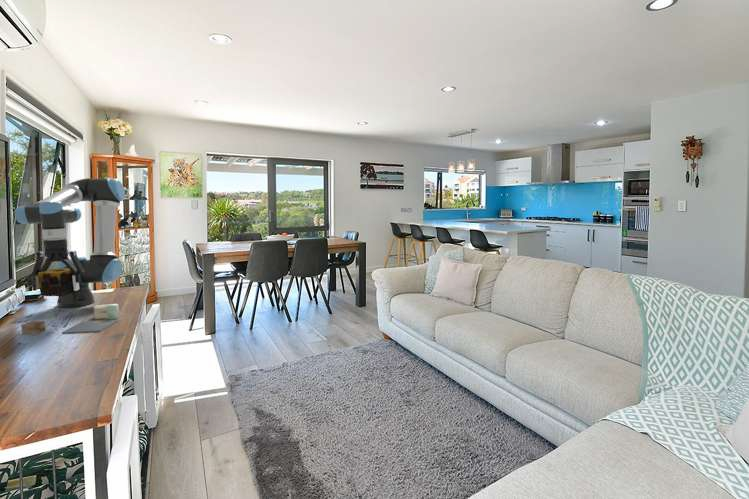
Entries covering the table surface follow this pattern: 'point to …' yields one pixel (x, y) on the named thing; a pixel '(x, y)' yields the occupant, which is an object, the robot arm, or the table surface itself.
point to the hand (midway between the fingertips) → (61, 290)
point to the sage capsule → (112, 311)
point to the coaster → (90, 326)
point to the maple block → (100, 311)
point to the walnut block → (33, 327)
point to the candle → (57, 282)
